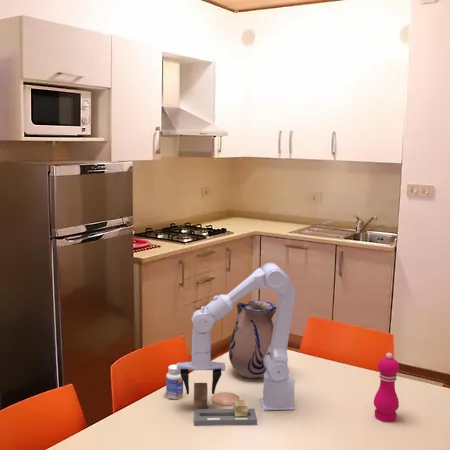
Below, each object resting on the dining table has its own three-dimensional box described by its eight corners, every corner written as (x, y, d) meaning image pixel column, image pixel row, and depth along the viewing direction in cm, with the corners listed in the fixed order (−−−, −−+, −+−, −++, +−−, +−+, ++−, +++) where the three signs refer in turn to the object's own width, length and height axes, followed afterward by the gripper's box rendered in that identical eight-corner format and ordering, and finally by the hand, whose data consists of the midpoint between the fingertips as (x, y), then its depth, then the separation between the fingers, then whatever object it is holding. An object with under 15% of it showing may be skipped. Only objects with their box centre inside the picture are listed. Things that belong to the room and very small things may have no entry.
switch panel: (254, 413, 171) (254, 408, 171) (257, 424, 164) (257, 419, 164) (194, 413, 170) (194, 408, 170) (194, 425, 163) (194, 420, 163)
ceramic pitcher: (231, 362, 211) (233, 296, 207) (289, 366, 208) (291, 299, 204) (225, 381, 194) (226, 310, 190) (287, 386, 191) (290, 314, 187)
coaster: (238, 393, 185) (238, 391, 185) (240, 405, 176) (241, 404, 176) (210, 393, 184) (210, 392, 184) (211, 406, 175) (211, 404, 175)
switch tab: (246, 410, 169) (246, 399, 169) (247, 416, 165) (247, 405, 165) (233, 410, 169) (234, 399, 169) (235, 416, 165) (235, 406, 165)
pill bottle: (180, 400, 179) (180, 370, 177) (163, 398, 180) (164, 369, 178) (185, 393, 184) (185, 364, 183) (169, 391, 185) (169, 362, 184)
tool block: (206, 404, 177) (207, 382, 176) (207, 410, 173) (207, 388, 172) (193, 404, 176) (194, 382, 175) (193, 410, 173) (194, 388, 172)
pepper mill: (384, 425, 166) (388, 359, 163) (367, 414, 172) (371, 350, 169) (403, 419, 169) (407, 355, 166) (385, 409, 175) (389, 347, 173)
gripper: (224, 345, 177) (223, 387, 178) (177, 345, 175) (176, 387, 177) (225, 353, 170) (224, 397, 171) (176, 353, 169) (176, 397, 170)
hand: (200, 392), depth 174 cm, fingers open, 7 cm apart
